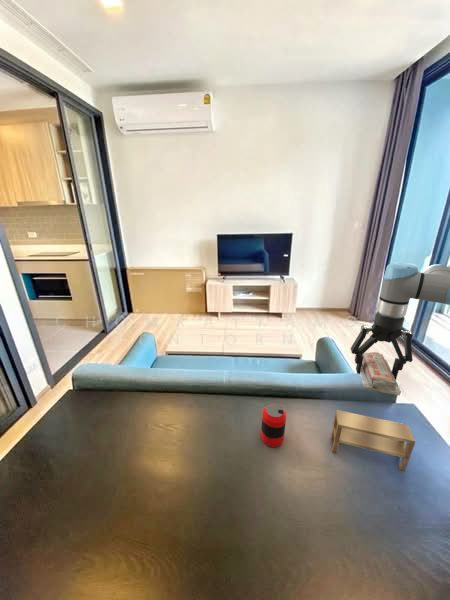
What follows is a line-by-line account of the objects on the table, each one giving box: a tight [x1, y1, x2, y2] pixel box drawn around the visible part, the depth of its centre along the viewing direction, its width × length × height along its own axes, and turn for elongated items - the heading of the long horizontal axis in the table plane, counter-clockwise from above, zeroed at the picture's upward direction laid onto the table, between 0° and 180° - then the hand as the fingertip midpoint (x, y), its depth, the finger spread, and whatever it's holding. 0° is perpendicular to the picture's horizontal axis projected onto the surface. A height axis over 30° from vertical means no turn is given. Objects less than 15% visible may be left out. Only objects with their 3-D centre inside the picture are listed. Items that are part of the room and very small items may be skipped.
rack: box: [330, 409, 416, 472], centre depth 77 cm, size 20×6×12 cm, turn 73°
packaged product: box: [359, 351, 402, 396], centre depth 83 cm, size 18×5×10 cm
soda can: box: [260, 403, 287, 448], centre depth 82 cm, size 8×8×12 cm
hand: (375, 374), depth 84 cm, fingers closed on packaged product, 10 cm apart
